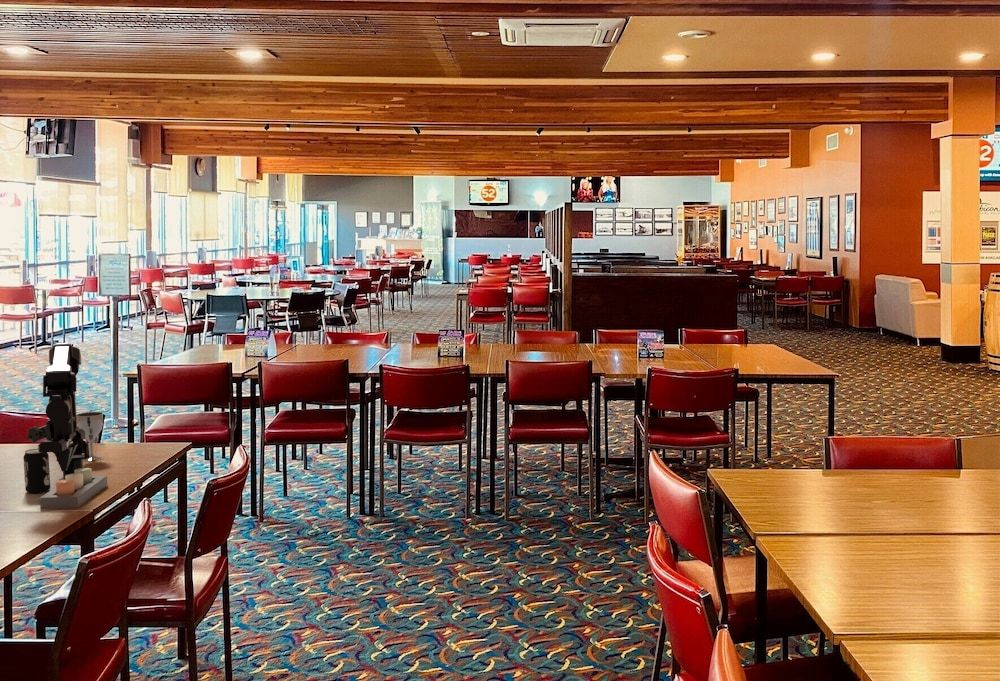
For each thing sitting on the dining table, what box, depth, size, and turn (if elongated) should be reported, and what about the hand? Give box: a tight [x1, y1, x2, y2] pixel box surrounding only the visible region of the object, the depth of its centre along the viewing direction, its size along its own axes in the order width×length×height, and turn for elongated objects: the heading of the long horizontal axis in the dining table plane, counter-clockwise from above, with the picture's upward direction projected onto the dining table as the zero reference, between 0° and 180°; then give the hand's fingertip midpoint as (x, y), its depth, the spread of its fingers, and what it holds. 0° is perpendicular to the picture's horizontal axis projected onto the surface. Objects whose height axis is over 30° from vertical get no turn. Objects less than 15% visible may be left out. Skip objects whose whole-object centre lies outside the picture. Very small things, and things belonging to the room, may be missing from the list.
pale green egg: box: [74, 467, 93, 482], centre depth 297 cm, size 5×5×4 cm
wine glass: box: [76, 411, 104, 462], centre depth 338 cm, size 8×8×15 cm
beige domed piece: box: [65, 474, 84, 489], centre depth 290 cm, size 5×5×4 cm
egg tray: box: [39, 475, 108, 509], centre depth 291 cm, size 24×10×3 cm, turn 3°
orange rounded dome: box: [55, 479, 75, 495], centre depth 284 cm, size 5×5×4 cm
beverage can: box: [22, 448, 51, 495], centre depth 297 cm, size 7×7×12 cm
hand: (64, 471), depth 283 cm, fingers closed
